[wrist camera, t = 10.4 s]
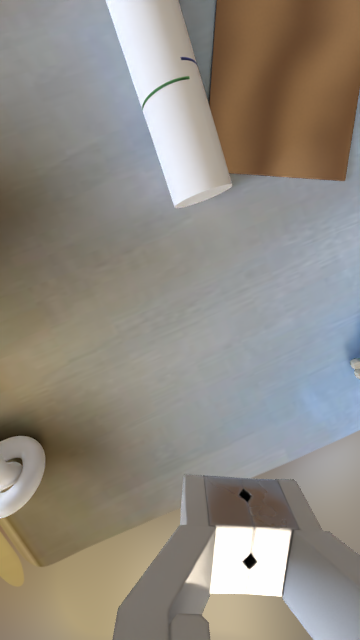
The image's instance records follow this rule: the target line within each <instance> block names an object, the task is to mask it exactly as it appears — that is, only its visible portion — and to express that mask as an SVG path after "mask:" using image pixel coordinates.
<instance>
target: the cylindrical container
mask: <svg viewBox="0 0 360 640" xmlns="http://www.w3.org/2000/svg"><path fill="white" fill-rule="evenodd" d="M106 2H107V5H108V8H109V11H110V14H111V17H112V20H113V23H114V26H115V29H116V32H117V35H118V38H119V41H120V44H121V47H122V50H123V53H124V56H125V59H126V62H127V65H128V68H129V71H130V74H131V77H132V80H133V83H134V86H135V89H136V92H137V95H138V98H139V101H140V104H141V107H142V110H143V113H144V116H145V119H146V122H147V125H148V128H149V131H150V134H151V137H152V140H153V143H154V146H155V149H156V152H157V155H158V158H159V161H160V164H161V167H162V170H163V173H164V176H165V179H166V182H167V185H168V188H169V191H170V194H171V197H172V200H173V203H174V206H175V208H182V207H186V206H190V205H193V204H196V203H199V202H202V201H205V200H207V199H210V198H212V197H214V196H216V195H219V194H221V193H223V192H224V191H226V190H228V189H229V188H231V187H232V182H231V179H230V175H229V172H228V168H227V165H226V162H225V158H224V155H223V151H222V148H221V144H220V141H219V138H218V134H217V131H216V127H215V124H214V120H213V117H212V114H211V110H210V107H209V103H208V100H207V97H206V93H205V90H204V86H203V83H202V80H201V76H200V73H199V69H198V66H197V62H196V59H195V56H194V52H193V49H192V45H191V42H190V38H189V35H188V32H187V28H186V25H185V21H184V18H183V14H182V11H181V7H180V4H179V1H178V0H106Z"/></svg>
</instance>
